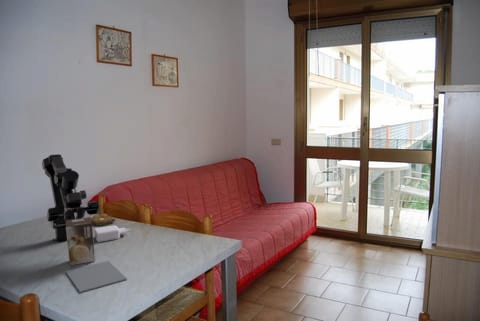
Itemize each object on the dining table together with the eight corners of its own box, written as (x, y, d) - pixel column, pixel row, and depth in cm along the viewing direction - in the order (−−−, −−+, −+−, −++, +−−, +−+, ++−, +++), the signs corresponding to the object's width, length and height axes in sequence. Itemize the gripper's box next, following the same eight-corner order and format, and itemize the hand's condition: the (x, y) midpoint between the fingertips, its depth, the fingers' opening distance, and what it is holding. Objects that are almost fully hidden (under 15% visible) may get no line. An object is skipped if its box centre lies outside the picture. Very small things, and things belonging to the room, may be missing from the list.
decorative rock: (86, 223, 199) (97, 229, 189) (85, 215, 199) (96, 222, 188) (106, 217, 207) (118, 223, 196) (106, 210, 206) (118, 216, 195)
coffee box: (94, 253, 149) (91, 216, 145) (95, 261, 144) (92, 223, 139) (69, 257, 146) (65, 219, 141) (69, 266, 140) (65, 226, 136)
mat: (65, 272, 134) (65, 271, 134) (108, 262, 143) (108, 260, 143) (80, 293, 118) (80, 291, 118) (126, 279, 127) (126, 278, 127)
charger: (132, 237, 173) (98, 243, 165) (127, 232, 181) (94, 237, 173) (131, 227, 172) (97, 232, 165) (127, 222, 180) (94, 227, 173)
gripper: (45, 187, 141) (53, 221, 134) (96, 181, 152) (106, 212, 145) (43, 204, 148) (51, 238, 141) (92, 197, 159) (102, 228, 152)
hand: (78, 228), depth 144 cm, fingers closed
